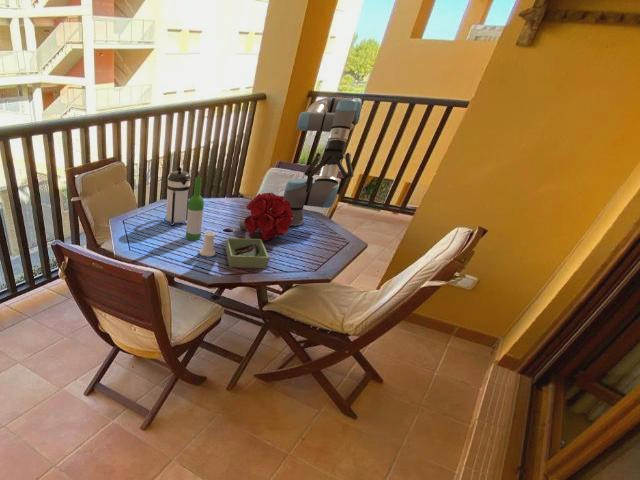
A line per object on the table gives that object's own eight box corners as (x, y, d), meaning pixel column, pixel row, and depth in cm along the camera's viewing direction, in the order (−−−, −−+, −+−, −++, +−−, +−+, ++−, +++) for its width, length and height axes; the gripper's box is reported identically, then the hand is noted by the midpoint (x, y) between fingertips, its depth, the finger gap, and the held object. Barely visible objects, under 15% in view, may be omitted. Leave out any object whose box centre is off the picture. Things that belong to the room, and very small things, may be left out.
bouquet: (230, 248, 209) (275, 236, 183) (223, 204, 206) (267, 185, 179) (259, 243, 219) (305, 231, 192) (252, 200, 216) (298, 182, 189)
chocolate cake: (229, 258, 183) (249, 246, 174) (232, 249, 187) (252, 236, 178) (242, 271, 186) (263, 259, 177) (245, 261, 190) (265, 250, 181)
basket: (225, 248, 193) (226, 237, 190) (259, 249, 191) (261, 239, 188) (229, 266, 175) (230, 256, 172) (266, 268, 174) (269, 257, 171)
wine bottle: (188, 234, 209) (193, 175, 191) (202, 236, 205) (208, 177, 188) (183, 239, 203) (187, 179, 186) (197, 241, 200) (203, 181, 182)
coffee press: (194, 220, 226) (199, 165, 209) (182, 228, 215) (186, 171, 198) (167, 215, 234) (170, 162, 216) (155, 223, 223) (156, 167, 205)
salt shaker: (211, 257, 183) (214, 237, 177) (196, 254, 186) (198, 234, 180) (217, 252, 188) (220, 232, 182) (203, 249, 192) (205, 229, 186)
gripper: (304, 140, 172) (292, 190, 178) (366, 138, 155) (349, 193, 161) (311, 144, 177) (298, 193, 183) (371, 142, 160) (355, 196, 166)
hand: (322, 193), depth 172 cm, fingers open, 13 cm apart
